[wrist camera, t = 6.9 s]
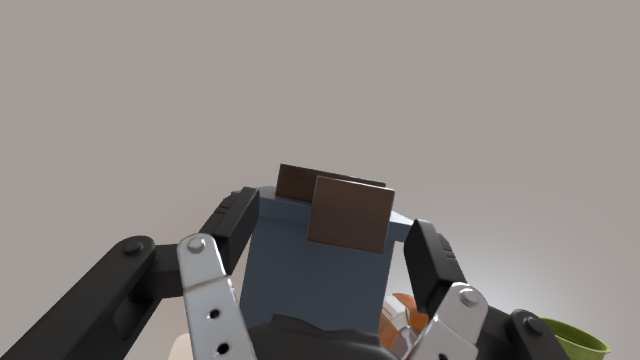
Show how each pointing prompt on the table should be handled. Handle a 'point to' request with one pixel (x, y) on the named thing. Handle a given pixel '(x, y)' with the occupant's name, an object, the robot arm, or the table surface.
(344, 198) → the paddle
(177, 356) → the table surface
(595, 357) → the plant pot
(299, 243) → the blue tapered column stand
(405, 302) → the coil
